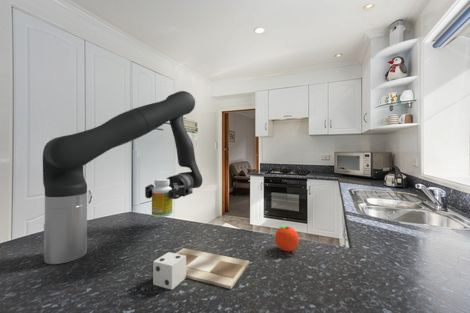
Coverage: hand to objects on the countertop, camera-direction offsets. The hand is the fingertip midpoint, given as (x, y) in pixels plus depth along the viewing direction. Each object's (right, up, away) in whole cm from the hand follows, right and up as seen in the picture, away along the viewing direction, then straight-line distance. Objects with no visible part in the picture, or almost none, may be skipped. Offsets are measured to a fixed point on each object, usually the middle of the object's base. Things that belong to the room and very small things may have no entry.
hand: (158, 194), depth 58 cm
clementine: (+35, -18, +7) cm, 40 cm away
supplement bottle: (0, -6, +3) cm, 7 cm away
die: (+6, -18, -9) cm, 21 cm away
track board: (+12, -18, -3) cm, 22 cm away
